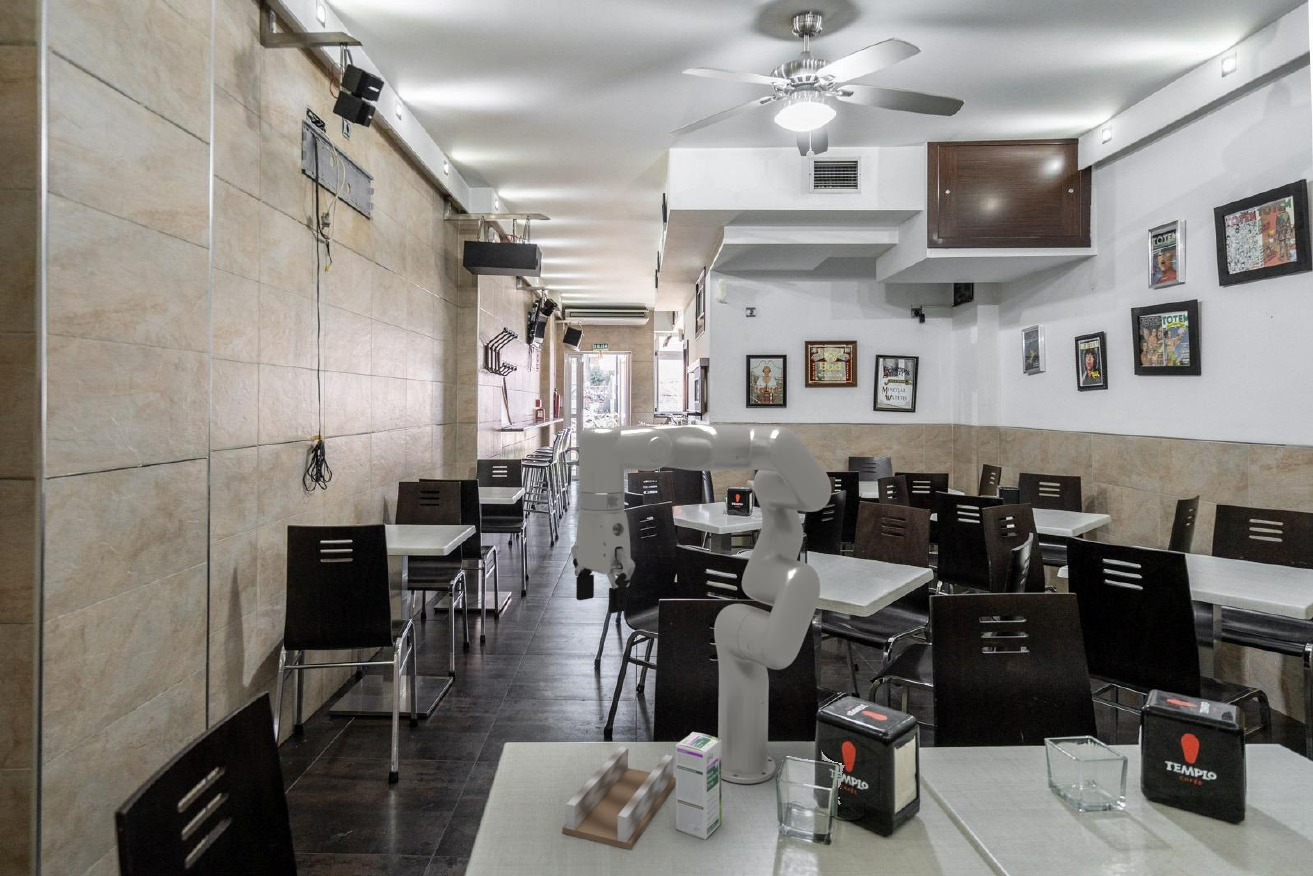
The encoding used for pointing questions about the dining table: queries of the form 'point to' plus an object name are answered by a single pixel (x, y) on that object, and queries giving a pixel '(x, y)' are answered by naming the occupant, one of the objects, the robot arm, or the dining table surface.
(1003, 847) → the dining table surface
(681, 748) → the syrup box
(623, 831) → the track
